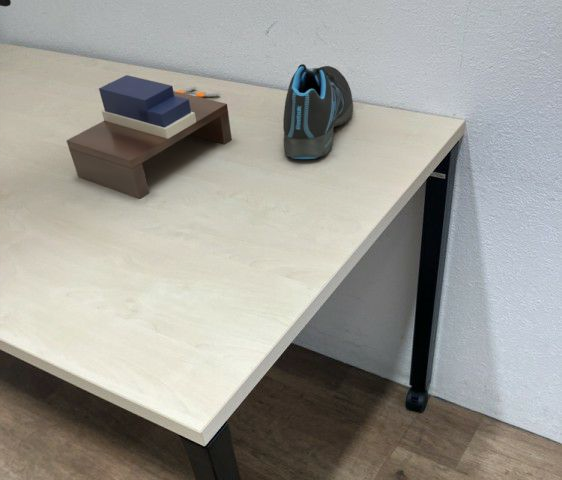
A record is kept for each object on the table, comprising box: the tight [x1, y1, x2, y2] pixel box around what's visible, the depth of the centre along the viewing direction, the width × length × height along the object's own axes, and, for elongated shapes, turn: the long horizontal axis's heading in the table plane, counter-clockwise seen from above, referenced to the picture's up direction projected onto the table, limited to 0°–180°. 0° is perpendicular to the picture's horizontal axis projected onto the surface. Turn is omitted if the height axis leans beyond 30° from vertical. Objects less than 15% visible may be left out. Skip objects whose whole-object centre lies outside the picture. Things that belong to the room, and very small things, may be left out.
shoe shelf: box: [66, 90, 232, 200], centre depth 98 cm, size 22×14×6 cm, turn 144°
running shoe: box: [282, 63, 354, 160], centre depth 100 cm, size 10×26×11 cm, turn 170°
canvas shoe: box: [98, 74, 196, 139], centre depth 94 cm, size 14×6×5 cm, turn 54°
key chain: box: [175, 86, 221, 98], centre depth 116 cm, size 13×7×1 cm, turn 118°
